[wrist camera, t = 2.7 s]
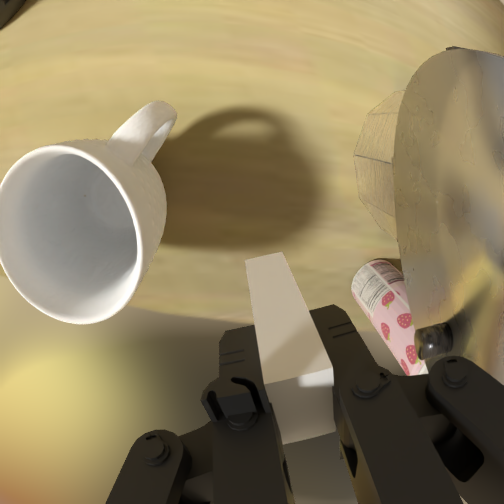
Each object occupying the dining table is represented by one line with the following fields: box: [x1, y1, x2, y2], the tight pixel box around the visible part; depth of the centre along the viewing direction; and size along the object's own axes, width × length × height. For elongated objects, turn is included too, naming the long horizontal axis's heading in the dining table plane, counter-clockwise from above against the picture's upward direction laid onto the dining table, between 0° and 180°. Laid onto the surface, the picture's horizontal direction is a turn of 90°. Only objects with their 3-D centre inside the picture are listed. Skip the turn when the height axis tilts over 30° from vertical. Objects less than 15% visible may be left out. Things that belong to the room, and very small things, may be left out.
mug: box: [0, 101, 177, 324], centre depth 20 cm, size 15×11×13 cm
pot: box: [353, 46, 470, 240], centre depth 23 cm, size 22×16×10 cm
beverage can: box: [351, 260, 428, 376], centre depth 25 cm, size 6×6×15 cm
